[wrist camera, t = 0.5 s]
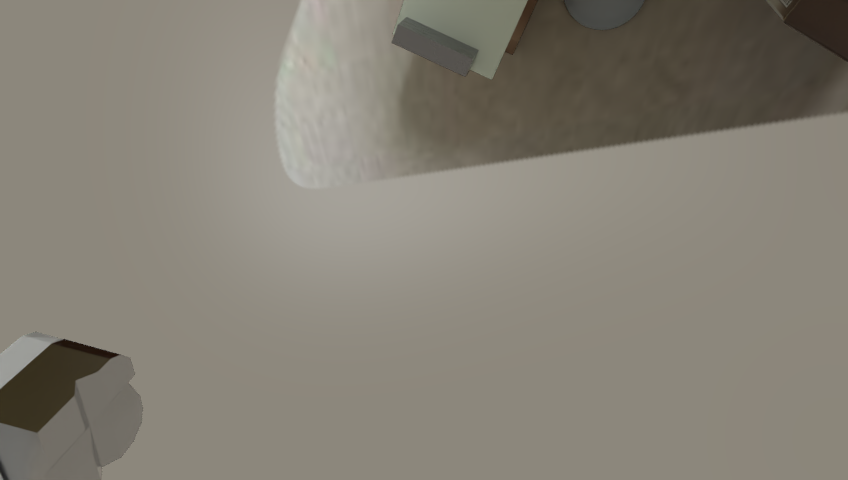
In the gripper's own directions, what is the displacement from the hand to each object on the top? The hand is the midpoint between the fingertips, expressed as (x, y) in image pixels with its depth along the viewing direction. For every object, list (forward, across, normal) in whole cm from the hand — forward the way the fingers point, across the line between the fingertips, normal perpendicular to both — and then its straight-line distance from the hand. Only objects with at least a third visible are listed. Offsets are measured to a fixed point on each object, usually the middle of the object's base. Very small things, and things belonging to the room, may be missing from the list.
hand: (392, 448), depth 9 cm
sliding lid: (+36, +5, 0) cm, 36 cm away
